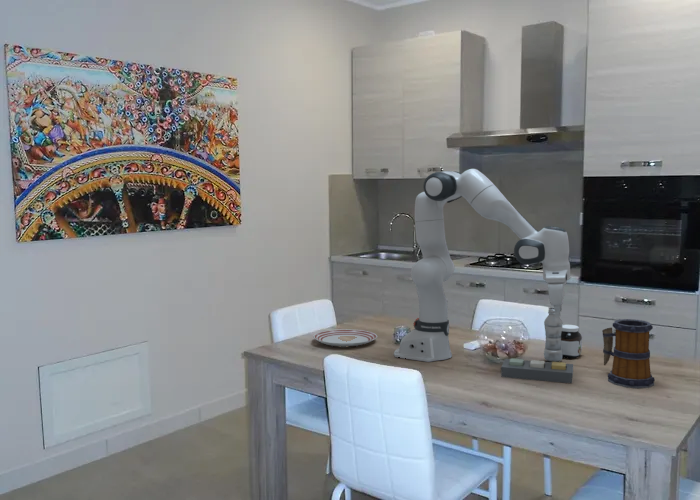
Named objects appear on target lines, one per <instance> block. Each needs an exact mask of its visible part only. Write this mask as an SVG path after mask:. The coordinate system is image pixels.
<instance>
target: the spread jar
mask: <svg viewBox="0 0 700 500" xmlns="http://www.w3.org/2000/svg"><path fill="white" fill-rule="evenodd" d="M579 330H580V327H579V326H578V325H574V324H563V326H562V332H561V349H562V354H563V357H562V359H569V360H572V359H573V360H574V359H578V358H579V357H580V356H581V354H582V352H583V351H582V350H583V336H582V334H581V332H580V331H579Z"/></svg>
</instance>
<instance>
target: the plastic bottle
mask: <svg viewBox="0 0 700 500" xmlns="http://www.w3.org/2000/svg"><path fill="white" fill-rule="evenodd" d="M547 314H548V315H547V316H546V317H545V319H544V321H543V325H544V333H545V344H544V350H543V357H544V361H545V362H562V360H563V358H562V357H563V354H562V349H561V332H562V326H563V325H564V324H563V323H564V322H563V320H562V318H561V316H560V317H555V313H554V307H549V308H548V312H547Z"/></svg>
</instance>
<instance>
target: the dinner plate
mask: <svg viewBox="0 0 700 500" xmlns="http://www.w3.org/2000/svg"><path fill="white" fill-rule="evenodd" d="M340 336H355V337H357V338H355V339H353V340H351V341H347V342H346V341H342V340H340V339H338V337H340ZM312 337H313V339H314V340H315V341H317V342H319V343H321V344H324V345H326V346H328V345H331V346H330V347H333V346H341V347H340V348H347V347H346V346H356V347H359V346H358V345H361V346H363V345H362V344H364V345H365V344H368V343H370V342H373V341H374V340H376V339H378V335H377V334H376V333H374V332H372V331H370V330H369V331H367V330H363V329H354V328H353V329H346V328H345V329H344V328H341V329H340V328H339V329H329V330H323V331H318V332H316V333H314V334H313V335H312Z"/></svg>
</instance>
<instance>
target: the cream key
mask: <svg viewBox="0 0 700 500" xmlns="http://www.w3.org/2000/svg"><path fill="white" fill-rule="evenodd" d="M530 361H531V363H530V367H536V368H544V366H545V362H546V360H537V359H536V360H535V359H531V360H530Z"/></svg>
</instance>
